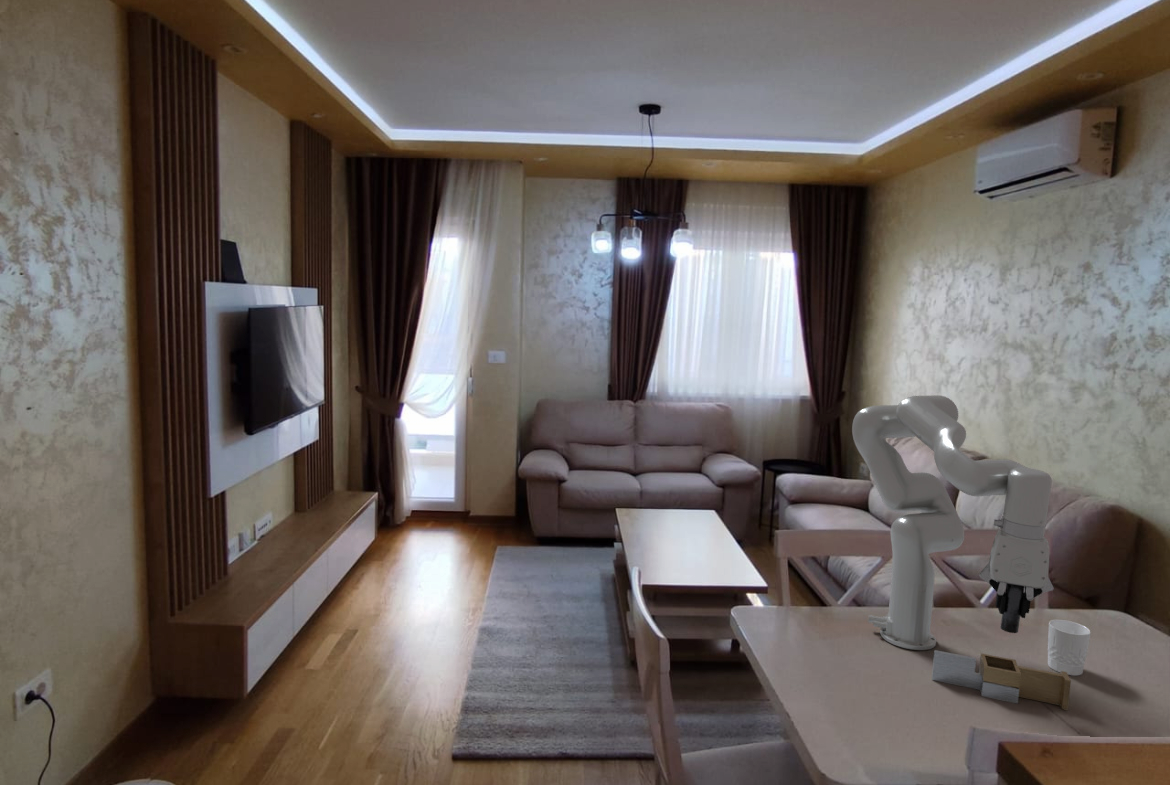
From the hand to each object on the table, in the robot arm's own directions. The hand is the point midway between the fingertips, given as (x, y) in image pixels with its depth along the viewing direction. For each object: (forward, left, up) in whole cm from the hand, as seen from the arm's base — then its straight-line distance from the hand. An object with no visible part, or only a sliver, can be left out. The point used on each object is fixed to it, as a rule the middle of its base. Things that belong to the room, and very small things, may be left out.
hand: (1011, 612), depth 147 cm
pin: (0, 0, -4) cm, 4 cm away
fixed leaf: (-5, +1, -19) cm, 19 cm away
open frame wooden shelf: (+4, +1, -18) cm, 19 cm away
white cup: (+15, +20, -19) cm, 32 cm away
